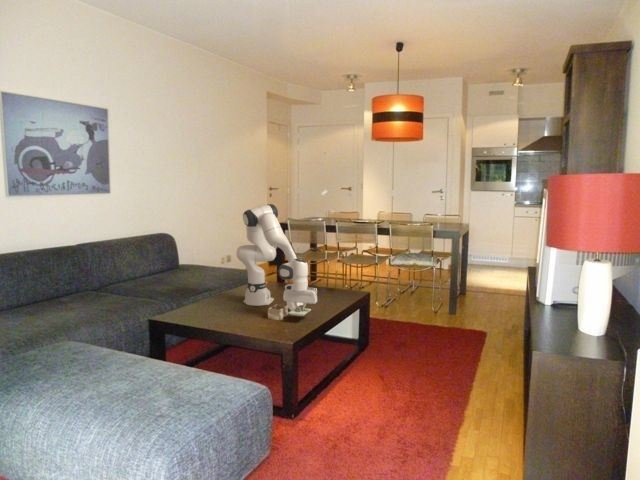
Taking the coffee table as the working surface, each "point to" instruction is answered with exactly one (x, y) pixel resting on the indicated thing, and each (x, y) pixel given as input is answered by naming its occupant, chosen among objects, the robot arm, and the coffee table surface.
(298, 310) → the lid
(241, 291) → the coffee table surface
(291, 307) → the lidded jar
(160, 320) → the coffee table surface
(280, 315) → the box
